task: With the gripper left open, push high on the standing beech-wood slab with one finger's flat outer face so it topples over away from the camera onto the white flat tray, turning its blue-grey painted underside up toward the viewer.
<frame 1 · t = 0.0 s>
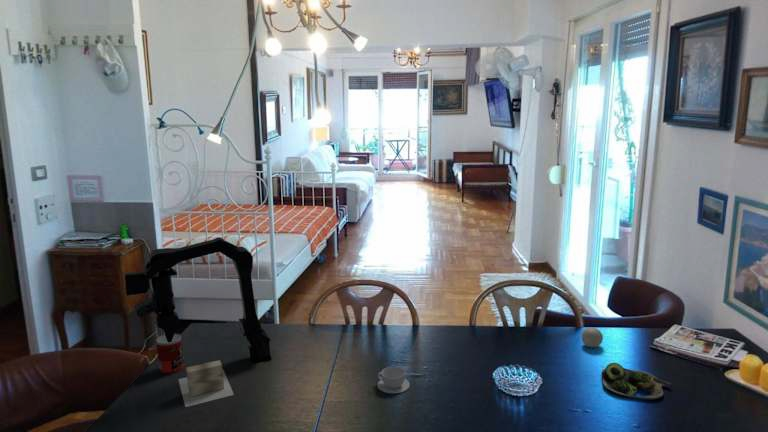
hand: (168, 336, 174), 15 cm above the table, fingers open, 9 cm apart
white flat tray: (205, 387, 171), on the table
teacup: (393, 386, 170), on the table
baseball: (591, 346, 192), on the table
salad plate: (628, 386, 167), on the table
beech slab: (206, 390, 169), resting on white flat tray
canned food: (172, 369, 183), on the table
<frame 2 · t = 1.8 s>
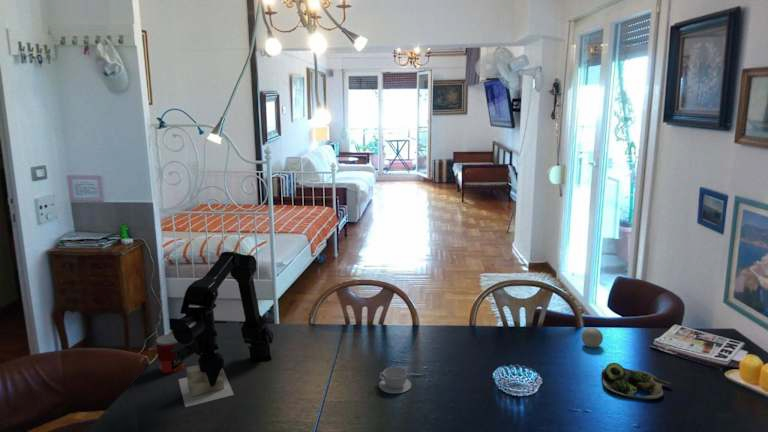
hand: (209, 378, 156), 10 cm above the table, fingers open, 9 cm apart
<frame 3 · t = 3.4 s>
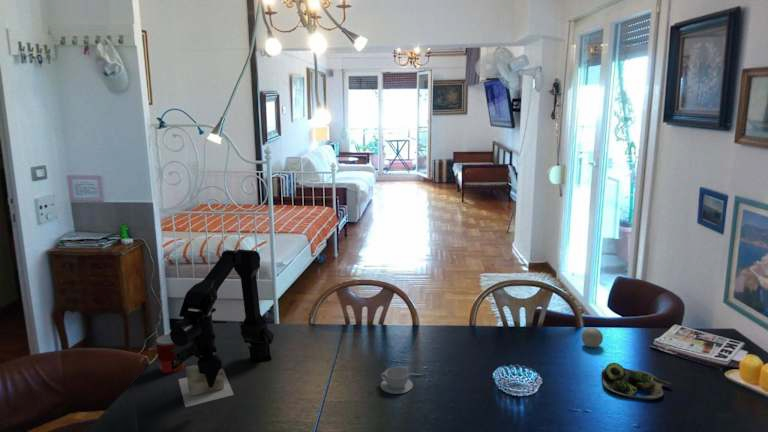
hand: (208, 380, 162), 7 cm above the table, fingers open, 8 cm apart
beech slab: (206, 390, 169), resting on white flat tray, touching gripper
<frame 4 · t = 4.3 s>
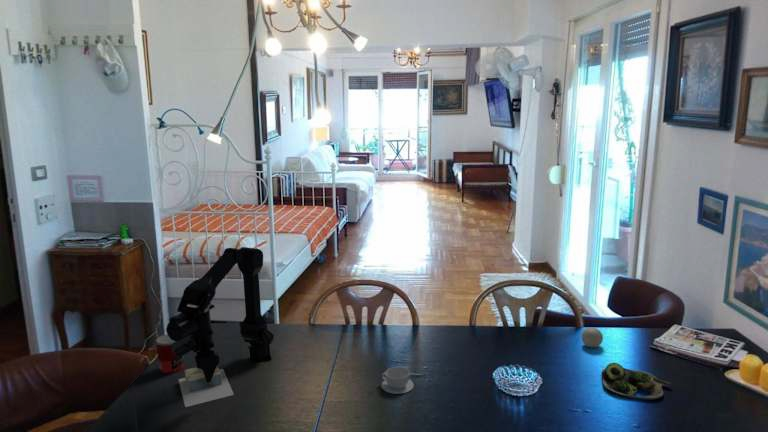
hand: (206, 375, 165), 7 cm above the table, fingers open, 9 cm apart
beech slab: (205, 382, 170), point 2 cm above the table, tilted 90°, touching white flat tray
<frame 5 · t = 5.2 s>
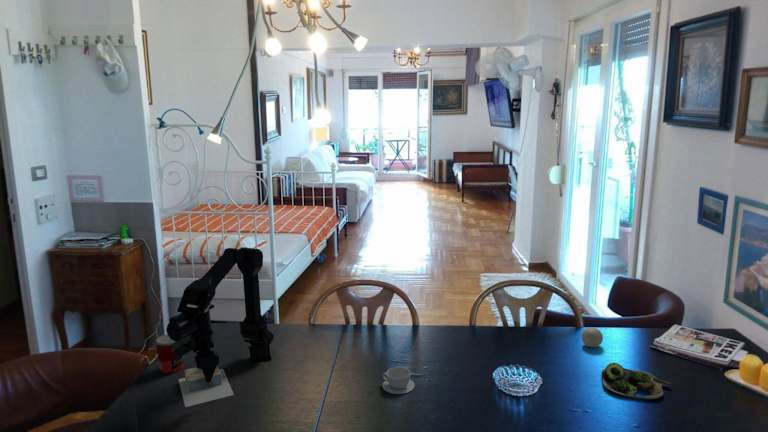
hand: (206, 375, 164), 7 cm above the table, fingers open, 9 cm apart
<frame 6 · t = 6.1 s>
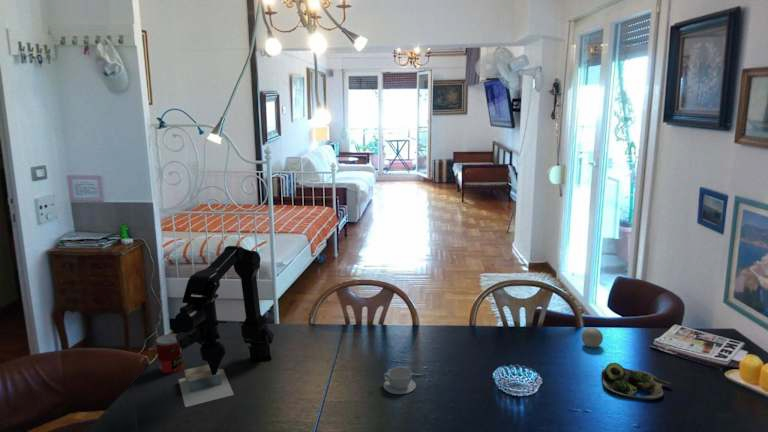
hand: (211, 367, 159), 12 cm above the table, fingers open, 9 cm apart
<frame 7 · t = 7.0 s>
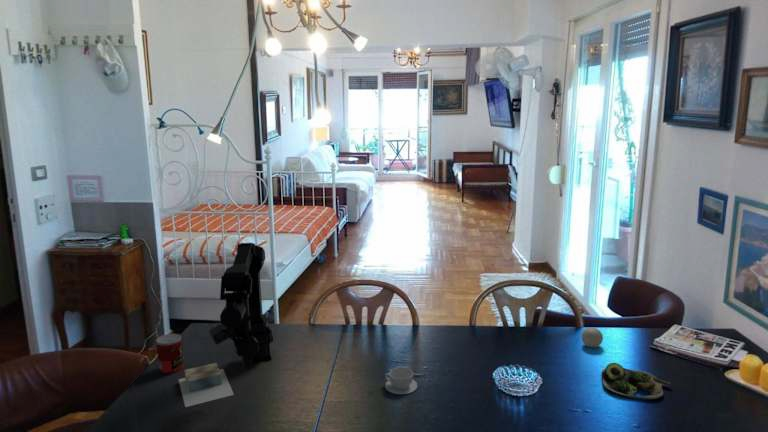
hand: (243, 362, 161), 12 cm above the table, fingers open, 9 cm apart
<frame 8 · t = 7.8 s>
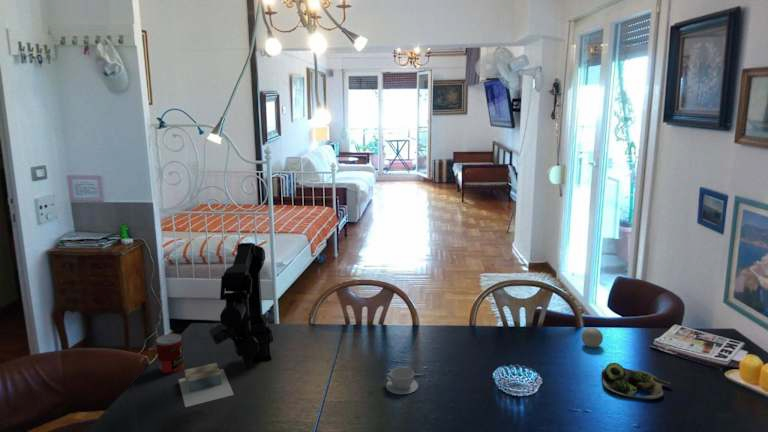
hand: (243, 362, 161), 12 cm above the table, fingers open, 9 cm apart
at the end: beech slab tilted 90°; beech slab inside the target area (1.8 cm from its centre), point 2.0 cm above the table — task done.
